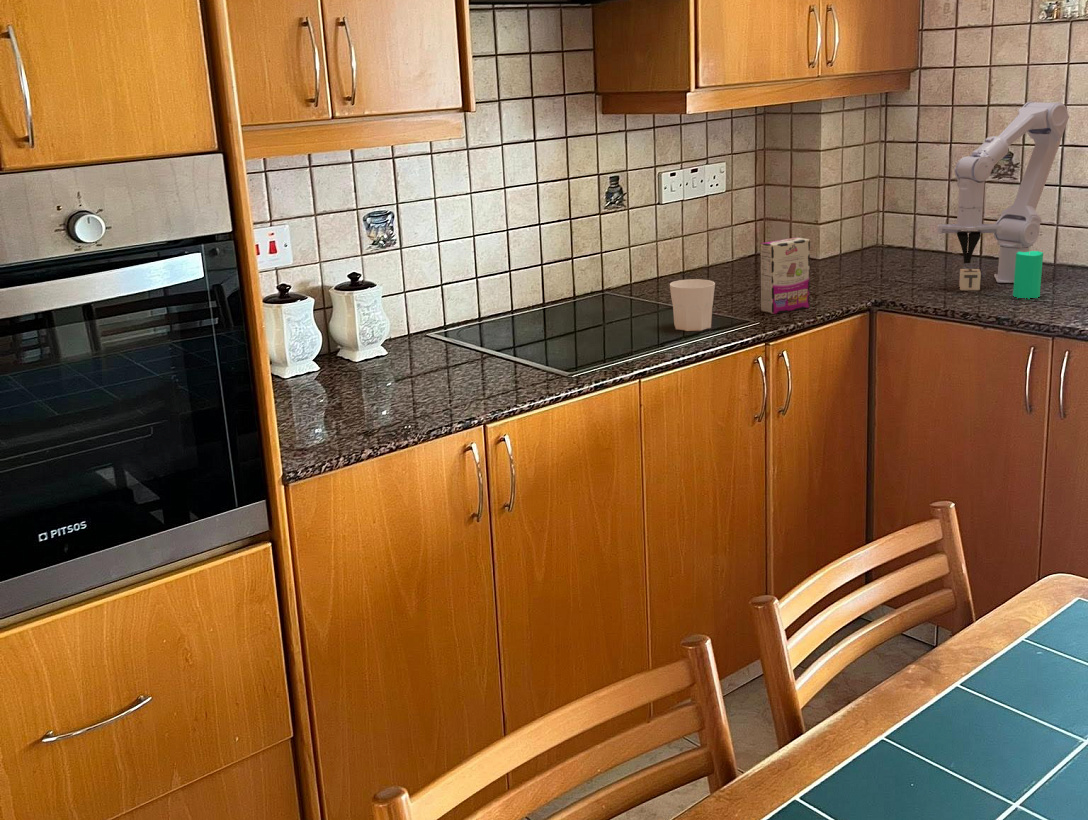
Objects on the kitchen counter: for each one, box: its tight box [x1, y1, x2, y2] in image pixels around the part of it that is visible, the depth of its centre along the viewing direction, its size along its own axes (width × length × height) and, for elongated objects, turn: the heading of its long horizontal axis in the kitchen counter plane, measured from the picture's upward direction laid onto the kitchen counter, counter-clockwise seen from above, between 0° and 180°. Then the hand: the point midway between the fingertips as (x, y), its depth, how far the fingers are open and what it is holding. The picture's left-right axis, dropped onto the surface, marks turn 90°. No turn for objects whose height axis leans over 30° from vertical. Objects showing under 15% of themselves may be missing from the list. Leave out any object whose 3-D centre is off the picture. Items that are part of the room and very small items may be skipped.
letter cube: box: [958, 268, 982, 291], centre depth 288 cm, size 5×4×5 cm
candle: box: [1012, 249, 1044, 300], centre depth 275 cm, size 6×6×12 cm
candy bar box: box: [759, 236, 811, 315], centre depth 273 cm, size 11×5×16 cm, turn 117°
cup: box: [669, 278, 716, 332], centre depth 261 cm, size 10×10×10 cm
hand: (966, 262), depth 286 cm, fingers closed
